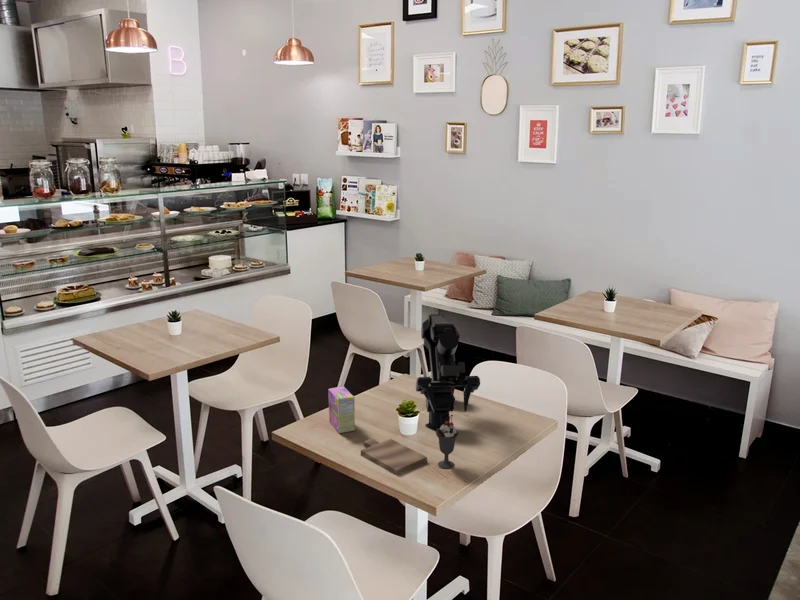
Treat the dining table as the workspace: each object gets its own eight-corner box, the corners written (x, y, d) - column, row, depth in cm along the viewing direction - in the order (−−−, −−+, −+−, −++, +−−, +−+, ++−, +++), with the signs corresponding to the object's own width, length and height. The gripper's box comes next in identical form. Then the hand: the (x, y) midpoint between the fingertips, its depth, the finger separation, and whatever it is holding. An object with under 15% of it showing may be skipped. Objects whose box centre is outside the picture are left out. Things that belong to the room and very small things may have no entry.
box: (328, 421, 222) (328, 388, 219) (344, 418, 224) (344, 385, 221) (338, 434, 212) (337, 399, 209) (355, 431, 214) (354, 396, 212)
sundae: (458, 460, 196) (460, 412, 192) (456, 471, 189) (458, 422, 186) (436, 458, 197) (437, 411, 193) (433, 469, 190) (435, 420, 187)
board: (352, 450, 201) (352, 445, 201) (382, 439, 209) (382, 434, 209) (396, 474, 187) (396, 470, 186) (426, 461, 195) (426, 457, 194)
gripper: (417, 352, 194) (421, 404, 187) (480, 351, 195) (486, 402, 188) (414, 365, 203) (417, 415, 197) (474, 364, 205) (479, 413, 198)
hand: (450, 411), depth 195 cm, fingers open, 9 cm apart
